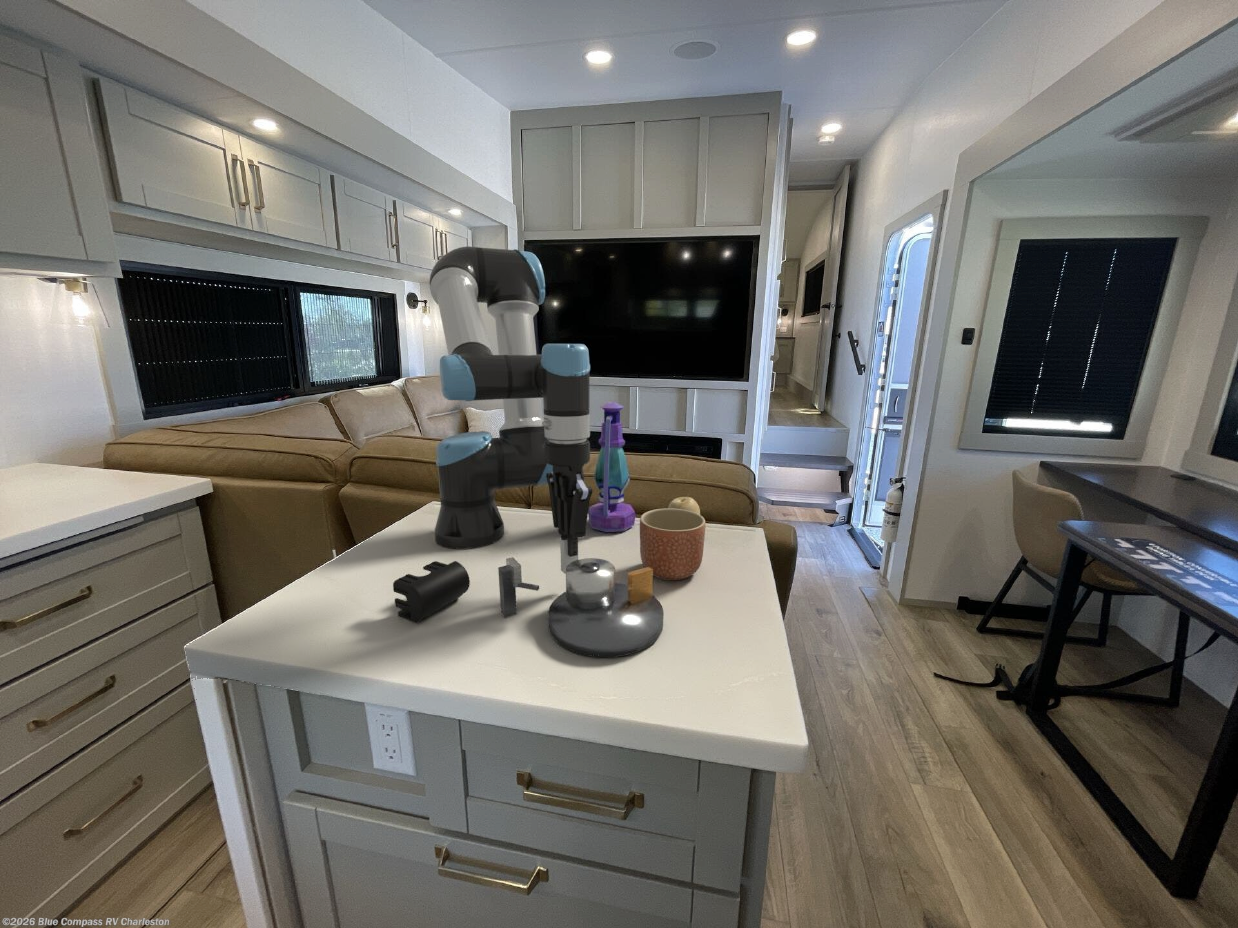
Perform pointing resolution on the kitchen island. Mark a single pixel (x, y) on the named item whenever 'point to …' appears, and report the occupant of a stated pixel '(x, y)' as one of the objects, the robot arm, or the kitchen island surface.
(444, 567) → the end cap
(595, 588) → the cover
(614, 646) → the turntable
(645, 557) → the planter
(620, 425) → the lantern
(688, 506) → the apple
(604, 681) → the kitchen island surface
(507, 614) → the gray post with pin
